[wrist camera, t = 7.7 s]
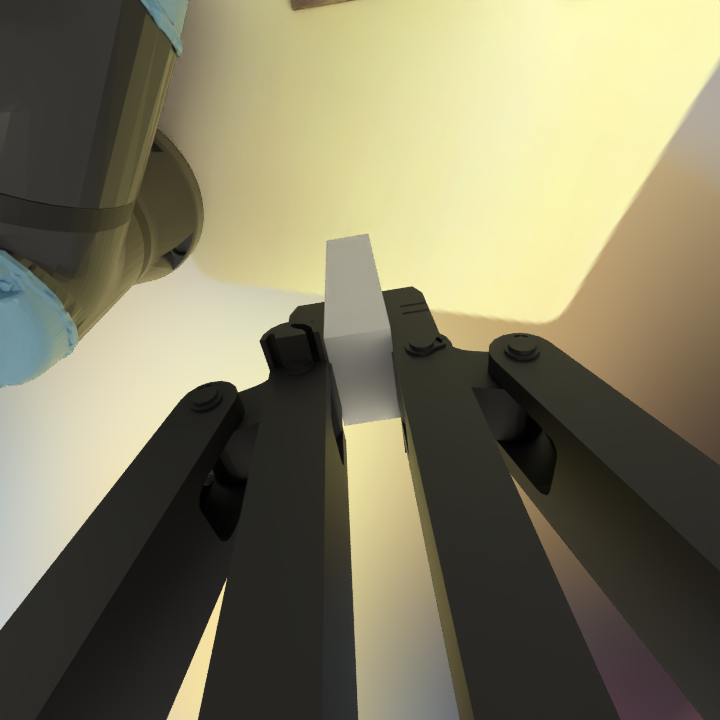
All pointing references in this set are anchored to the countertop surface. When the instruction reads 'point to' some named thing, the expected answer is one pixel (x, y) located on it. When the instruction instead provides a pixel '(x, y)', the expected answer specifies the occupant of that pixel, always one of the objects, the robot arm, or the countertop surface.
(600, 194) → the countertop surface
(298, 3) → the post
